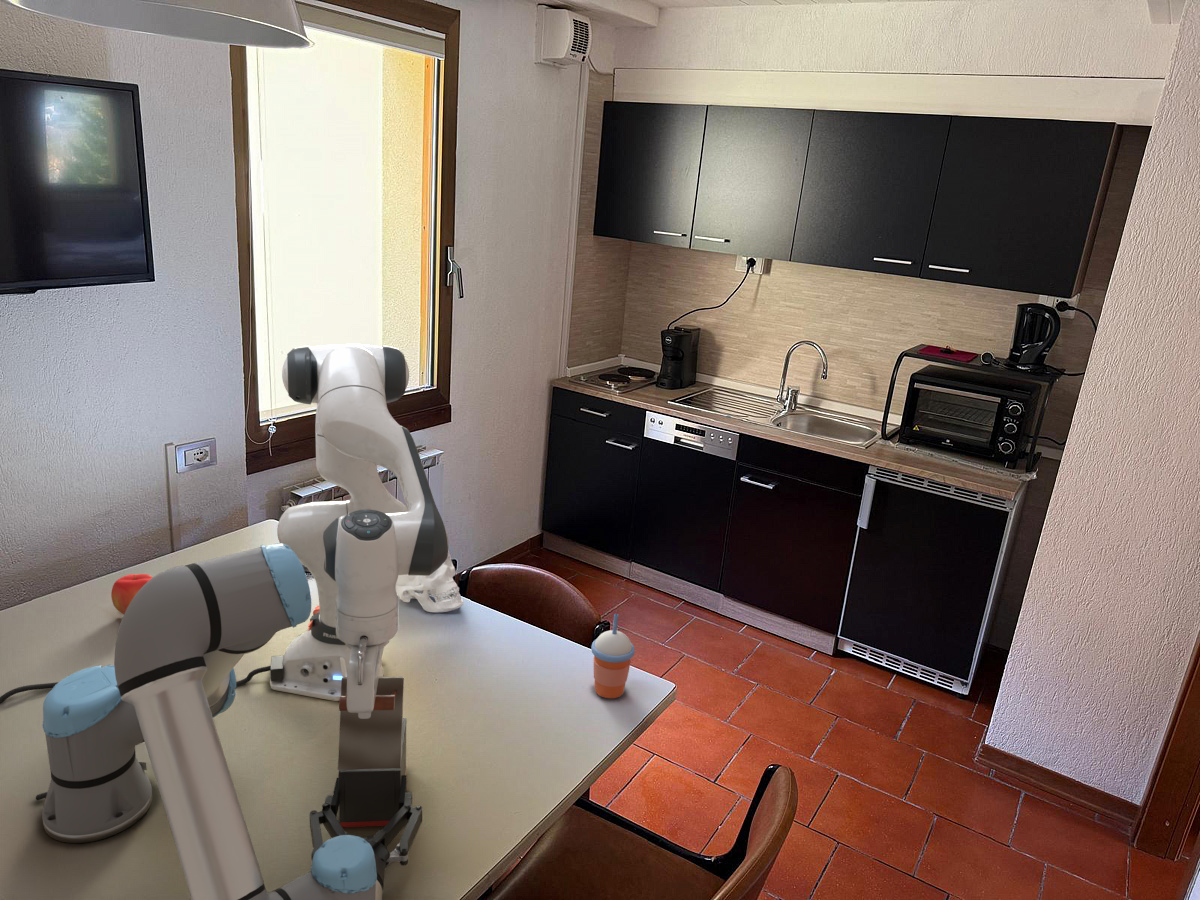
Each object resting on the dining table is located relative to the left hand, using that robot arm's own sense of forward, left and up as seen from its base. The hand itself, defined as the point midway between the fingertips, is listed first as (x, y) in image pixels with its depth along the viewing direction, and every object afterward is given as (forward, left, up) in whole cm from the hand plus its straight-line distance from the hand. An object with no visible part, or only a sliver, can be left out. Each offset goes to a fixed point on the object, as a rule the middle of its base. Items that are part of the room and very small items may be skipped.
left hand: (371, 783), depth 140 cm
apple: (-59, +68, -6) cm, 90 cm away
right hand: (0, -6, +19) cm, 20 cm away
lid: (0, 0, +12) cm, 12 cm away
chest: (0, +4, -6) cm, 7 cm away
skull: (+6, +75, -6) cm, 76 cm away
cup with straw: (+46, +34, -6) cm, 57 cm away
